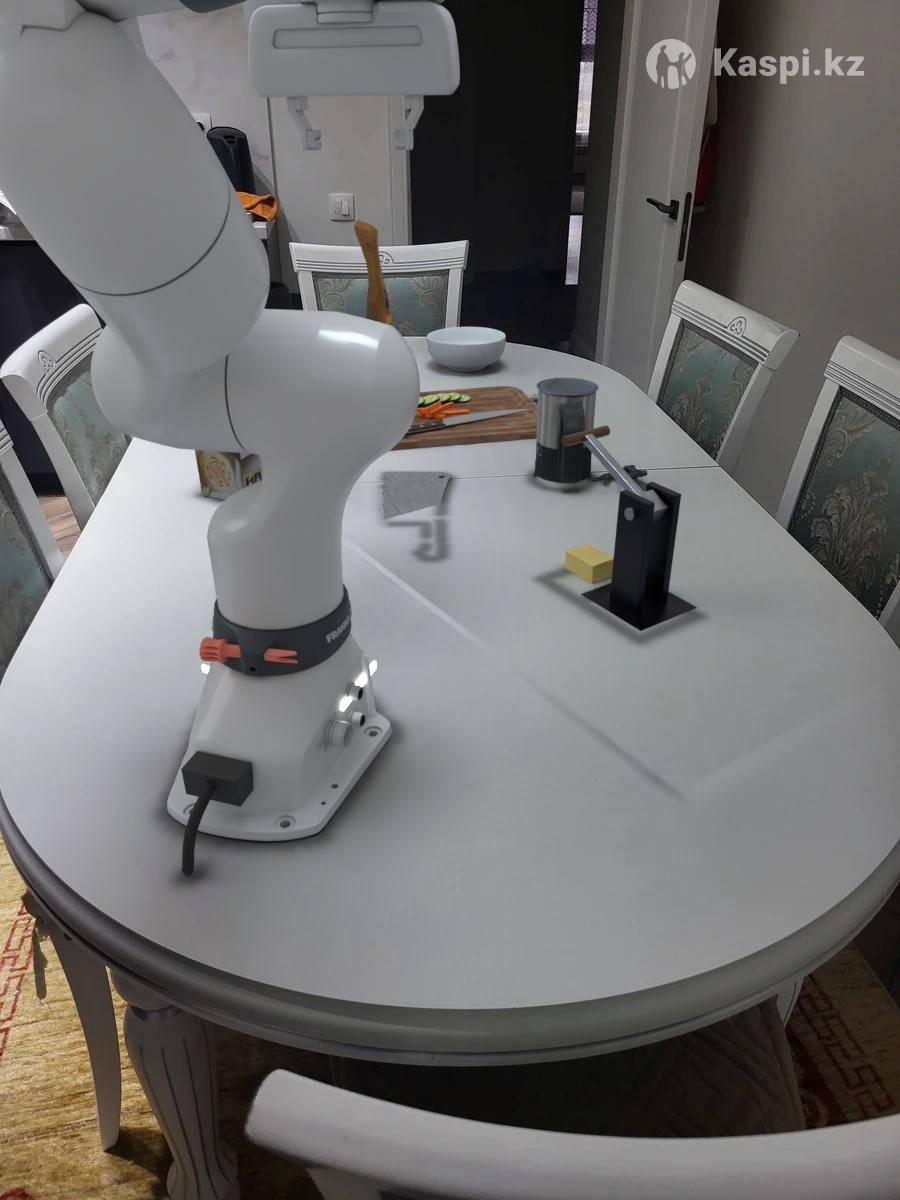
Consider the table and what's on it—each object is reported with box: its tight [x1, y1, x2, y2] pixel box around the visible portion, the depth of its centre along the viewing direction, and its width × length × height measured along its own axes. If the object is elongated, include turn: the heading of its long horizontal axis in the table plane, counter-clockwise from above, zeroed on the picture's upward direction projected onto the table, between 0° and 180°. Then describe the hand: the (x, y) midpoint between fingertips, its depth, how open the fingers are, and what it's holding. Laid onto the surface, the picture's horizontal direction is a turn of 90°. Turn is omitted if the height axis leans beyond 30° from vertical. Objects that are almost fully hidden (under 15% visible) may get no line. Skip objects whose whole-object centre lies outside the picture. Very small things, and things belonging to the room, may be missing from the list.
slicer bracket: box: [580, 481, 698, 632], centre depth 101 cm, size 10×9×15 cm
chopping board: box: [390, 385, 538, 451], centre depth 163 cm, size 45×27×3 cm, turn 102°
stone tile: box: [383, 471, 451, 520], centre depth 128 cm, size 29×1×10 cm
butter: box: [564, 543, 614, 585], centre depth 109 cm, size 5×4×3 cm
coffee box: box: [194, 450, 263, 501], centre depth 131 cm, size 9×6×16 cm
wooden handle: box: [353, 219, 394, 327], centre depth 198 cm, size 7×19×28 cm, turn 11°
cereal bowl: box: [426, 326, 507, 373], centre depth 192 cm, size 17×17×7 cm
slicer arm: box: [561, 425, 668, 524], centre depth 100 cm, size 14×6×2 cm, turn 34°
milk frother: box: [532, 377, 648, 484], centre depth 134 cm, size 14×16×15 cm
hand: (358, 150), depth 88 cm, fingers open, 8 cm apart
